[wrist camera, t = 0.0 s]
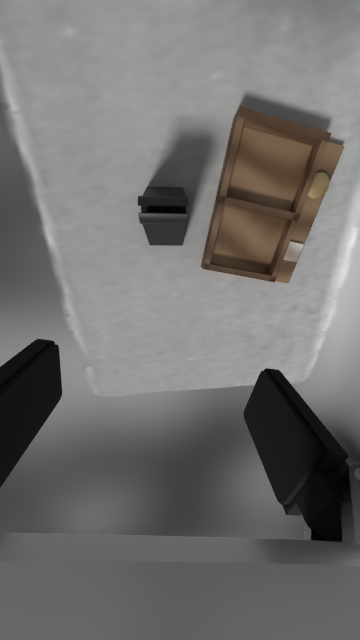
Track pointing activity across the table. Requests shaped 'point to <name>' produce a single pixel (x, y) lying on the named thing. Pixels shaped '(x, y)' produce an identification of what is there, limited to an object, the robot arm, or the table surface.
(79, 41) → the table surface
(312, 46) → the table surface
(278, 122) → the bay board
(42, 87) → the table surface
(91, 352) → the table surface
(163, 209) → the phone stand
